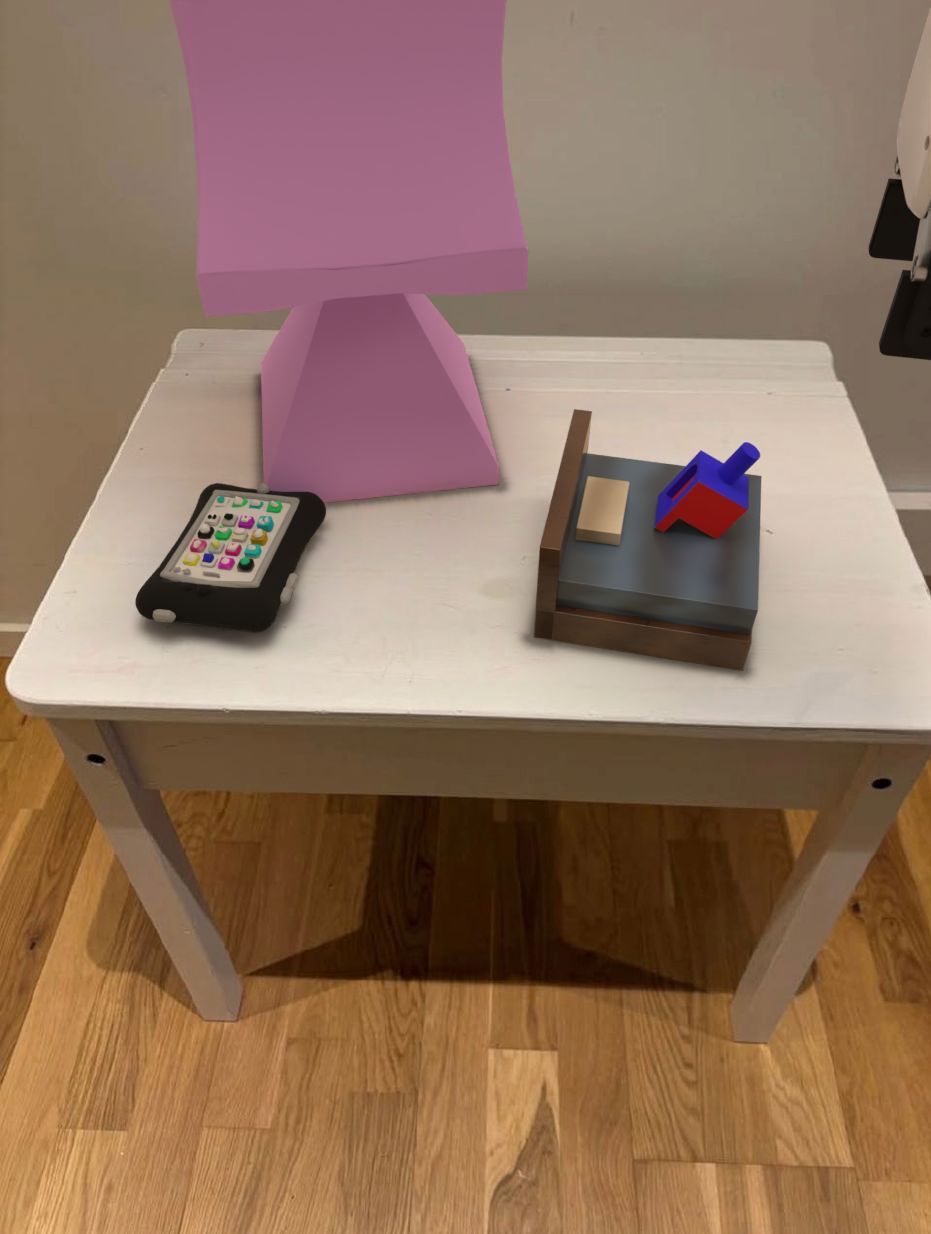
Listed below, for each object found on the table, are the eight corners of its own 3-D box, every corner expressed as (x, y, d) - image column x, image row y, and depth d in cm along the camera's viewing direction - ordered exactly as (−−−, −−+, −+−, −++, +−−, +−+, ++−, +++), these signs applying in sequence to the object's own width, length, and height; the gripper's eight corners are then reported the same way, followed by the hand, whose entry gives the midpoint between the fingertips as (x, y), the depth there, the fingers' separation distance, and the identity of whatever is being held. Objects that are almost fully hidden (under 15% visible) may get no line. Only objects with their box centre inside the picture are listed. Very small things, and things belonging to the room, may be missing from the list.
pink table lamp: (518, 493, 83) (546, -191, 50) (250, 521, 81) (97, -175, 48) (475, 350, 98) (476, -248, 66) (249, 370, 96) (131, -237, 63)
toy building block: (702, 553, 72) (775, 484, 67) (654, 527, 71) (724, 454, 66) (703, 521, 75) (774, 452, 69) (657, 495, 74) (725, 423, 68)
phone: (333, 516, 81) (327, 474, 78) (278, 654, 71) (268, 612, 68) (209, 503, 83) (198, 461, 79) (137, 636, 72) (121, 594, 69)
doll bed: (748, 523, 81) (773, 433, 74) (742, 670, 70) (771, 580, 63) (566, 498, 83) (574, 408, 76) (533, 637, 72) (539, 547, 66)
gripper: (1219, -48, 31) (1008, 410, 43) (1103, -153, 43) (963, 232, 55) (966, -57, 32) (832, 391, 45) (920, -158, 44) (824, 221, 56)
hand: (904, 303), depth 50 cm, fingers open, 9 cm apart
